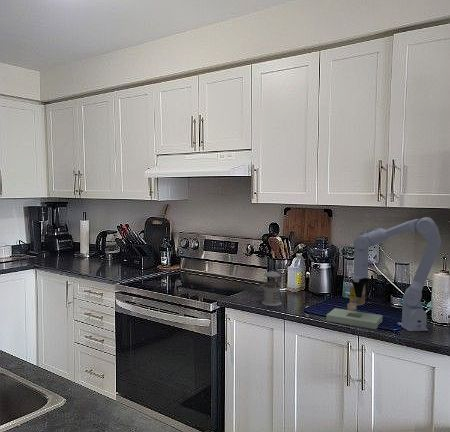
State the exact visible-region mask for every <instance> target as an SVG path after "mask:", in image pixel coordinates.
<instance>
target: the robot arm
mask: <svg viewBox="0 0 450 432" xmlns="http://www.w3.org/2000/svg"><path fill="white" fill-rule="evenodd" d="M438 227H439V226H438V225H437V224H436V222H435V221H434V219H433V218H431V217H429V216H424V217H422V218H421V217H420V218H416V219H412V220H411V219H410V220H408V221H405V222H403V223H400V224H397V225H395V226H392V227H390V228H387V229H385V228H382V227H380V228H378V227H376V228H374V230H373V231H370V232H363V234H360V235H359V236H357V237H355V238H354V240H353V246H354V253H353V255H354V257H353V272H351V273H350V276H352V277H354V280H353V279H351V281H350V283H351V282H352V284H353V286H354V290H355V295H356V297H359V298H361V297H362V293H363V288H364V285H365V291H366V290H367V287H368V284H369V282H370V278H369V258H370V257H369V255H370V254H369V247H374V246H377V245H380V244H383V243H385V242H387V241H388V239H389V238H390V237H393V236H396V235H399V234H402V233H405V232H413V233H416V232H417V233H419V234H420V235H421V237H423V239H424V240H425V242H426V248H425V249H424V252H423V254H422V257H421V258H420V261H419V264H418V266H417V269H416V271H415V274H414V276H413V279H412V281H411V283H410V285H409V286H408V287H407V288H405V291H404V294H403V295H402V300H403V301H402V306H401V308H402V309H401V310H402V312H401V313H402V315H401V322H397V325H398V326H400V325H401V326H400V327H402V328H403V329H405V330H407V331H408V332H428V331H429V329H428V328H427V318H428V316H427V313H426V311H425V310H424V308H423V303H422V302H421V299H422V297H423V293H422V291H423V288H424V285H425V284H426V282H427V280H428V276H429V275H430V272H431V270H432V267H433V264H434V262H435V260H436V258H437V255H438V252H439V251H440V248H441V246H442V239H441V238H442V237H441V235H440V232H439V228H438Z"/></svg>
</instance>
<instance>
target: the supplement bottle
mask: <svg viewBox="0 0 450 432" xmlns="http://www.w3.org/2000/svg"><path fill="white" fill-rule="evenodd" d="M352 280H354V276H352ZM349 285H350V286H349V303H354V304H356V303H355V290H354V286H353V284H352V282H351V281H350V283H349ZM356 305H357V306H363V305H364V304H356Z"/></svg>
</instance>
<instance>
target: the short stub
mask: <svg viewBox="0 0 450 432" xmlns="http://www.w3.org/2000/svg"><path fill="white" fill-rule="evenodd" d="M357 306H358V305H356V304H354V303H350V302H349V303H347V304H346V310H350V311H357Z"/></svg>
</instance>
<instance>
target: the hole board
mask: <svg viewBox="0 0 450 432" xmlns="http://www.w3.org/2000/svg"><path fill="white" fill-rule="evenodd" d="M383 317H384V316H383V315H381V314H375V313H371V312H370V313H368V312H362V311H357V310H356V311H350V310H347V309H344V308H343V309H342V308H336V307H334V308H333V309H332V310H331V311H329V312H328V313H327V314H326V317H325V320H326V322H330V323H336V324H337V323H338V324H343V325H348V326H354V327H361V328H366V329H373V330H377V329H378V328H379V326H380V325H381V324H382V323H383ZM380 323H381V324H380ZM379 324H380V325H379ZM378 325H379V326H378Z"/></svg>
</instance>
